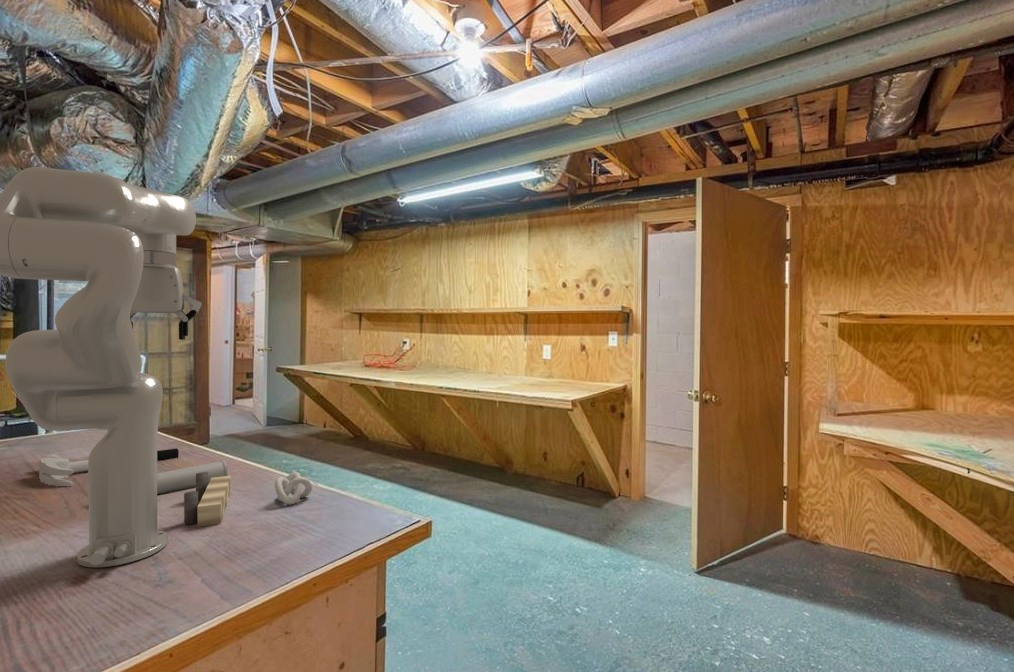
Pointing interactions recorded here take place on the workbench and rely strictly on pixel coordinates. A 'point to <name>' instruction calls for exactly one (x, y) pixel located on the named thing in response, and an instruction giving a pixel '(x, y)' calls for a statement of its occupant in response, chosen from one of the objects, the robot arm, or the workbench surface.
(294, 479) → the knot
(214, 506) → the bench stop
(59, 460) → the claw hammer
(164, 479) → the tube
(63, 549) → the workbench surface
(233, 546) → the workbench surface
